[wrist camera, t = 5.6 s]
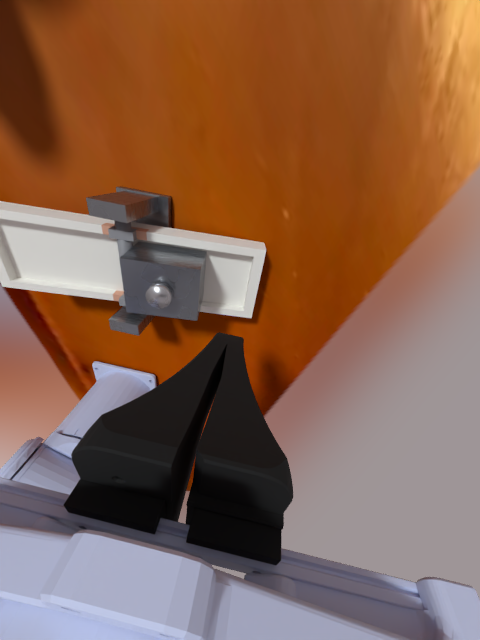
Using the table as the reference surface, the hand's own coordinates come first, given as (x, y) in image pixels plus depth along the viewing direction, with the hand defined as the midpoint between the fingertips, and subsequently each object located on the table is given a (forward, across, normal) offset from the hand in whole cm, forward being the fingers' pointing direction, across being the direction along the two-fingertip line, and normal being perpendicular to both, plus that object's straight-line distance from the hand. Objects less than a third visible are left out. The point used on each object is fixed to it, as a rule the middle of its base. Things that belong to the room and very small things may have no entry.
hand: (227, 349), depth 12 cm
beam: (+8, +9, 0) cm, 13 cm away
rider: (+8, +6, 0) cm, 10 cm away
